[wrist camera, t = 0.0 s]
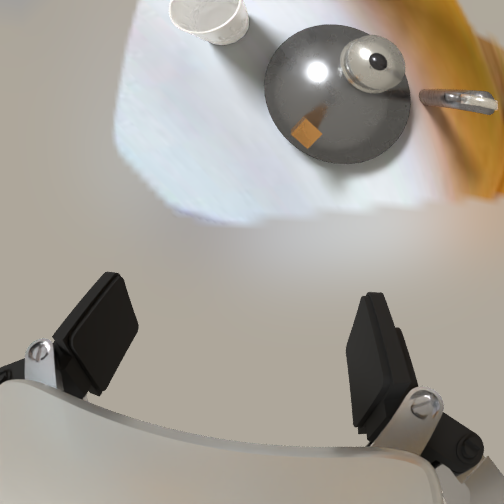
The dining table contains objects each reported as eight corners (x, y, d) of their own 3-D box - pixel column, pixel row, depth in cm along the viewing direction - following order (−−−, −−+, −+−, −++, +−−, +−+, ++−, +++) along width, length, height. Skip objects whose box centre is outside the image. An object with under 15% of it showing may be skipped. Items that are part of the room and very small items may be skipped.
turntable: (329, 4, 24) (336, -16, 18) (429, 102, 28) (455, 104, 22) (236, 96, 33) (223, 95, 26) (341, 188, 37) (350, 207, 31)
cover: (364, 28, 24) (373, 20, 20) (407, 70, 26) (419, 68, 22) (327, 63, 27) (331, 58, 24) (371, 105, 29) (381, 105, 26)
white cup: (254, 47, 30) (242, 29, 21) (197, 52, 31) (168, 39, 22) (253, -1, 26) (241, -29, 17) (196, 6, 27) (169, -17, 18)
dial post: (437, 91, 28) (504, 96, 15) (439, 106, 29) (505, 118, 16) (403, 87, 29) (463, 85, 16) (404, 103, 30) (465, 110, 17)
